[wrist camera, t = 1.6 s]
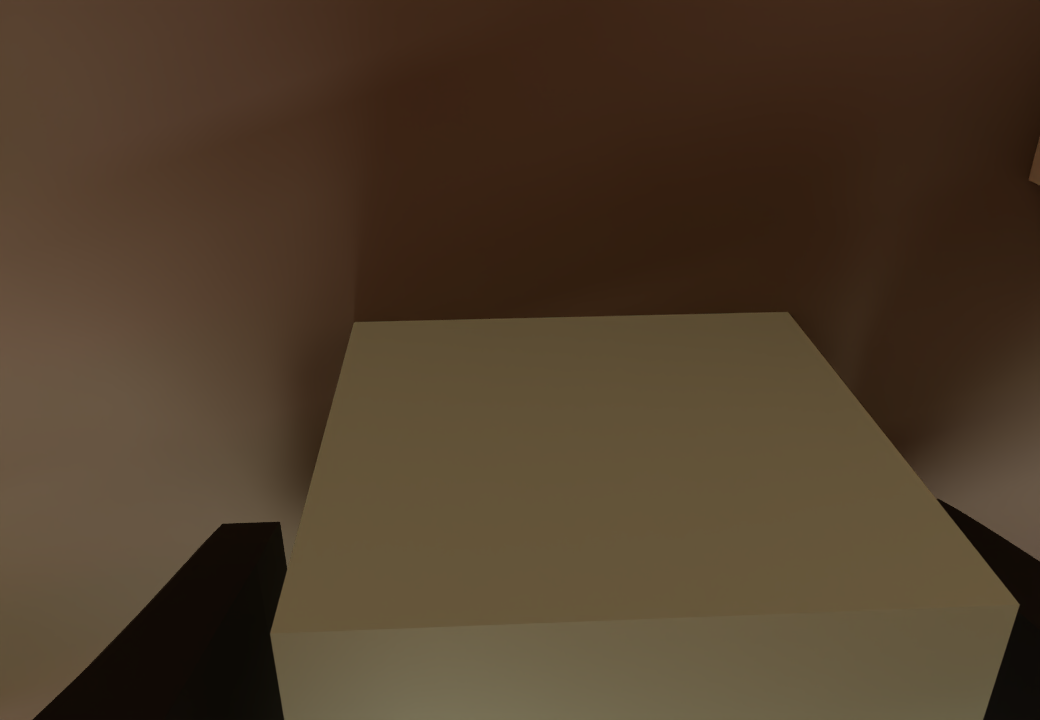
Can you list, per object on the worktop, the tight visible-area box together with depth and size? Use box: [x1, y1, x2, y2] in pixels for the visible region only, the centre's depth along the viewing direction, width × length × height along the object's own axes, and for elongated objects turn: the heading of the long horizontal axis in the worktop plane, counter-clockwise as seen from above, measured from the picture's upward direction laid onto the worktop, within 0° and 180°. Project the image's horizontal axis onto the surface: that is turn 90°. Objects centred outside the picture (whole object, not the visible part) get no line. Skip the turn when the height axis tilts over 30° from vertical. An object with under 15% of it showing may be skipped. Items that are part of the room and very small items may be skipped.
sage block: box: [270, 312, 1020, 720], centre depth 9 cm, size 5×5×5 cm
